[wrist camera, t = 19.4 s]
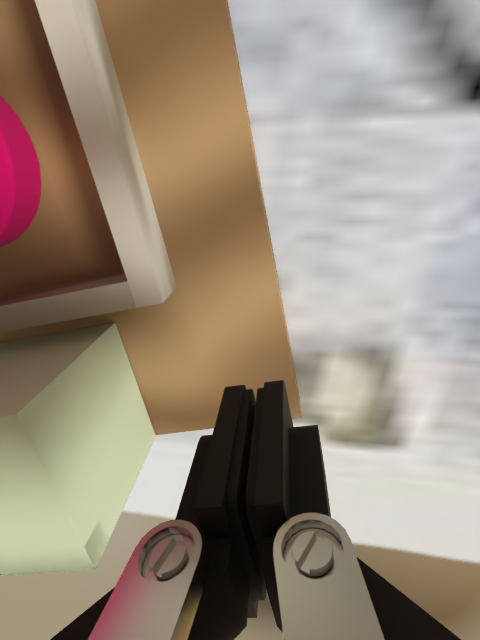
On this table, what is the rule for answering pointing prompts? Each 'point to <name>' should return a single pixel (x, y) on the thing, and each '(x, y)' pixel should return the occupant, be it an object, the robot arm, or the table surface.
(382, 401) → the table surface
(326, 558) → the robot arm
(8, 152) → the pepper mill
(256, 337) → the stand
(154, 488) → the table surface
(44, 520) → the block
